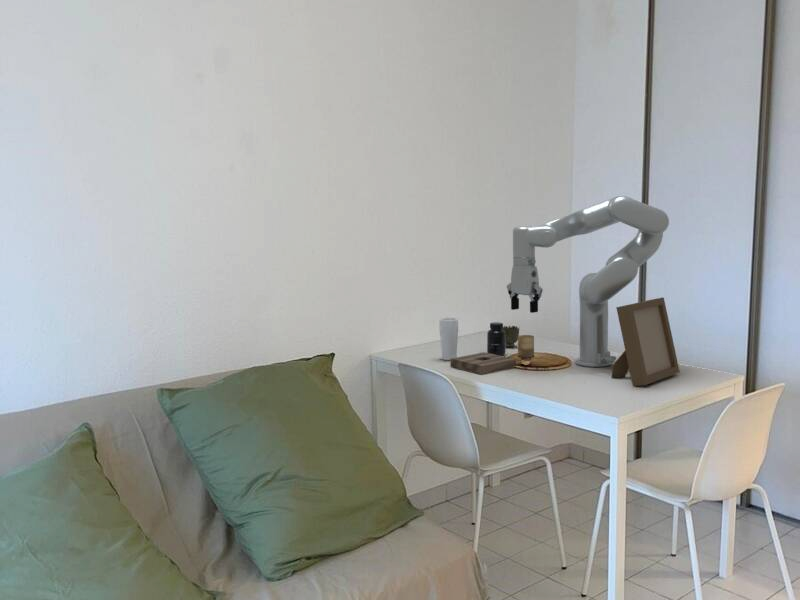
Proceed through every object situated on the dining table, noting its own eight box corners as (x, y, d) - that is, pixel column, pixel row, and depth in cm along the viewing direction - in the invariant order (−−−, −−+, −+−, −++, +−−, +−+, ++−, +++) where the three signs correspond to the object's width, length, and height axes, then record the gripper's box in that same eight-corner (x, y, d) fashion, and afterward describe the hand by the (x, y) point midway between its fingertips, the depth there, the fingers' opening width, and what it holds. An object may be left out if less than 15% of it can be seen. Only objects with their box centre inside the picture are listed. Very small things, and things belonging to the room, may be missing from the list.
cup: (497, 346, 301) (497, 326, 299) (514, 344, 303) (514, 324, 302) (505, 349, 293) (505, 329, 292) (522, 348, 296) (522, 327, 295)
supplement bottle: (492, 357, 280) (492, 325, 278) (484, 354, 286) (483, 322, 285) (509, 355, 282) (508, 323, 281) (500, 352, 289) (499, 321, 287)
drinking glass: (437, 358, 280) (436, 318, 278) (453, 356, 283) (452, 316, 281) (445, 362, 274) (444, 321, 272) (461, 360, 277) (461, 319, 275)
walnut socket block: (515, 367, 262) (515, 358, 262) (481, 374, 253) (481, 365, 253) (484, 360, 275) (484, 352, 275) (450, 367, 266) (450, 358, 265)
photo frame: (679, 375, 245) (680, 298, 242) (645, 388, 230) (645, 306, 227) (637, 369, 255) (637, 295, 252) (602, 381, 241) (602, 303, 238)
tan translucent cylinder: (537, 364, 266) (537, 336, 265) (526, 366, 263) (526, 338, 261) (525, 361, 271) (525, 334, 269) (514, 364, 267) (514, 336, 266)
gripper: (549, 262, 259) (549, 312, 261) (515, 260, 273) (515, 307, 275) (533, 264, 255) (533, 314, 257) (499, 261, 269) (500, 309, 271)
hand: (524, 310), depth 266 cm, fingers open, 9 cm apart
